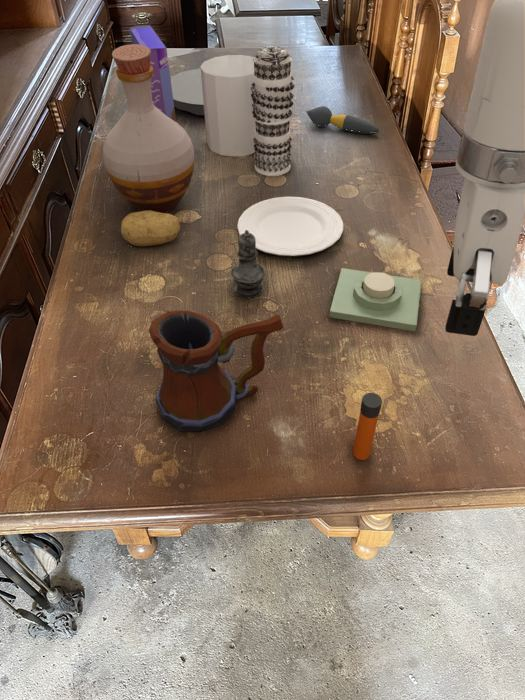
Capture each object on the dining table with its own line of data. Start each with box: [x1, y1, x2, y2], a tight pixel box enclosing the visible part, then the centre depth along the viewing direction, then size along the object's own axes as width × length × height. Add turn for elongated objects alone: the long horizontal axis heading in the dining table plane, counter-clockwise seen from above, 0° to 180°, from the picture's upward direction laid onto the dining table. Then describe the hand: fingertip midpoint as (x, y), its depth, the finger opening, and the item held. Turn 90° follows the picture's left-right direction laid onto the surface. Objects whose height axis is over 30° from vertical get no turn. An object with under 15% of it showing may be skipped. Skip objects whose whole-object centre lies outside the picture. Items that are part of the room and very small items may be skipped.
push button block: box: [328, 267, 422, 333], centre depth 91 cm, size 14×12×3 cm
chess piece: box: [230, 230, 266, 299], centre depth 91 cm, size 6×6×12 cm
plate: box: [236, 196, 344, 258], centre depth 107 cm, size 21×21×2 cm
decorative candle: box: [251, 45, 295, 177], centre depth 117 cm, size 9×9×25 cm
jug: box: [102, 43, 195, 213], centre depth 105 cm, size 20×18×30 cm
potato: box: [120, 210, 181, 247], centre depth 103 cm, size 7×11×6 cm, turn 94°
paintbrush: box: [306, 105, 380, 135], centre depth 138 cm, size 20×5×5 cm, turn 71°
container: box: [199, 54, 256, 157], centre depth 129 cm, size 14×14×18 cm
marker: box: [352, 392, 383, 461], centre depth 67 cm, size 2×2×11 cm
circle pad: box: [363, 271, 395, 299], centre depth 90 cm, size 5×5×2 cm
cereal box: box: [129, 24, 177, 123], centre depth 127 cm, size 17×5×24 cm, turn 20°
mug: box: [148, 310, 284, 432], centre depth 72 cm, size 18×12×15 cm, turn 99°
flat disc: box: [170, 67, 205, 116], centre depth 152 cm, size 28×28×4 cm
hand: (460, 302), depth 59 cm, fingers open, 9 cm apart
